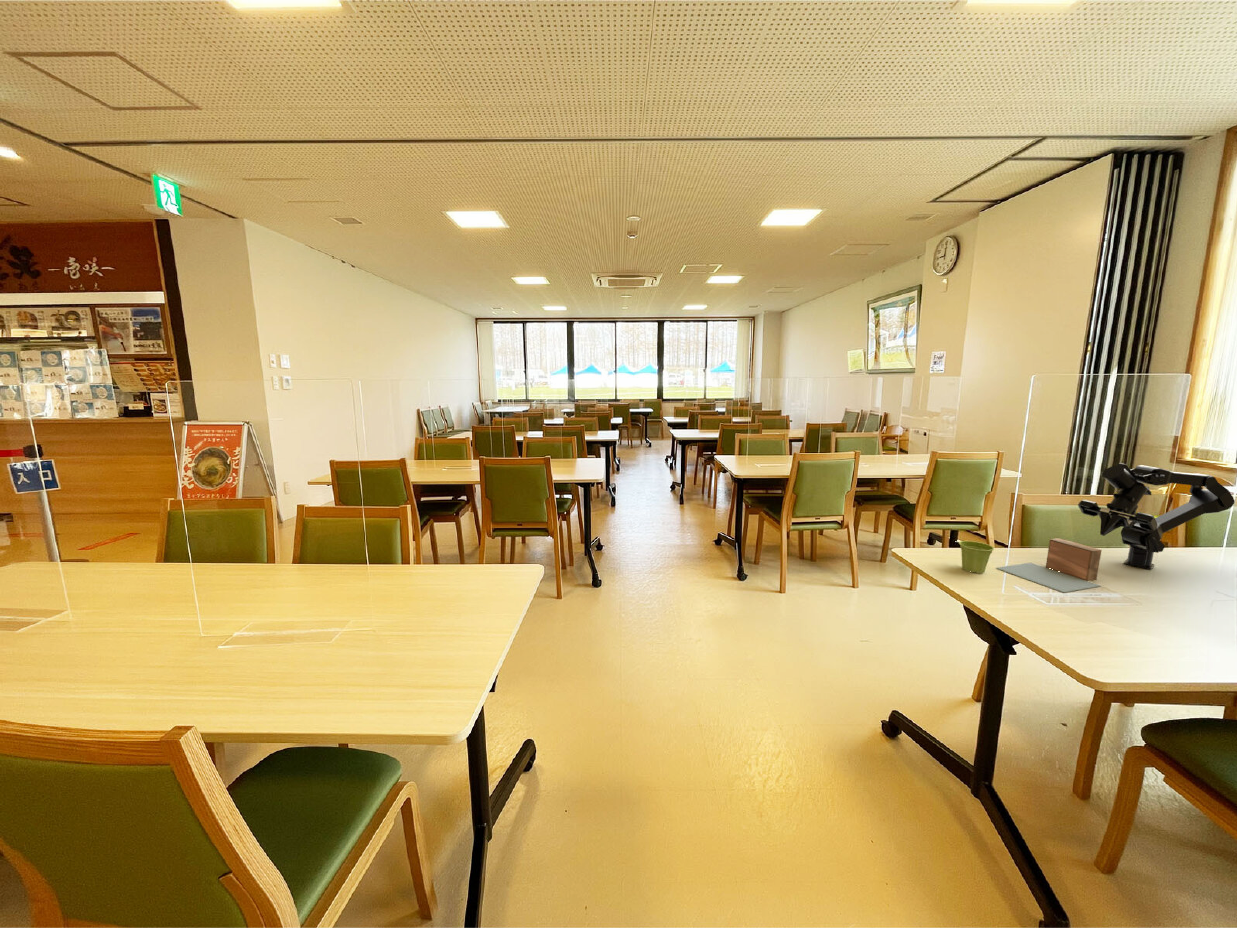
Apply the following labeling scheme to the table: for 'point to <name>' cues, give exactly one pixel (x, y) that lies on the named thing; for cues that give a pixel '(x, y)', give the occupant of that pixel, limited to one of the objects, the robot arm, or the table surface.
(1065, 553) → the walnut block
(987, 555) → the plant pot
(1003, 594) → the table surface
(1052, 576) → the mat
